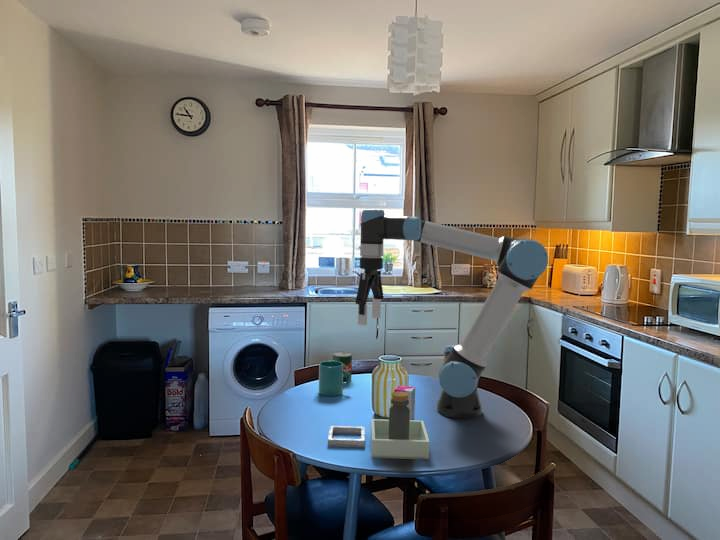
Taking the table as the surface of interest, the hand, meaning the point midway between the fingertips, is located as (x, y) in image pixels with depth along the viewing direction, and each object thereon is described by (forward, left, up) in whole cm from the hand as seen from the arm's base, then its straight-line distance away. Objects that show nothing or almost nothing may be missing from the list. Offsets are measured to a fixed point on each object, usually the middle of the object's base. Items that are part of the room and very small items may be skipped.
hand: (369, 321), depth 175 cm
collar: (+6, +21, -32) cm, 39 cm away
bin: (-9, +25, -32) cm, 41 cm away
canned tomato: (+10, -39, -32) cm, 51 cm away
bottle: (-9, +25, -31) cm, 41 cm away
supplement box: (-12, +6, -32) cm, 35 cm away
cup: (+12, -22, -32) cm, 41 cm away
